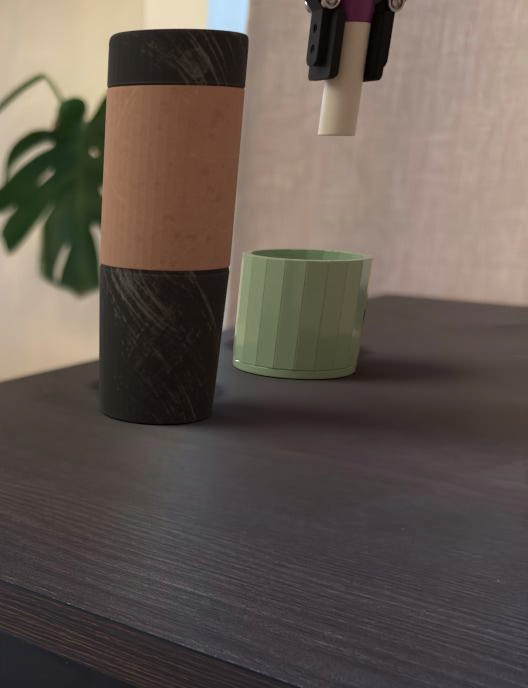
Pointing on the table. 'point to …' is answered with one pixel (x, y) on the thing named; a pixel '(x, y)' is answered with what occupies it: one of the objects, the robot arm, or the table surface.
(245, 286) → the cup
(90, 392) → the table surface
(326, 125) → the glue stick
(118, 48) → the travel mug
